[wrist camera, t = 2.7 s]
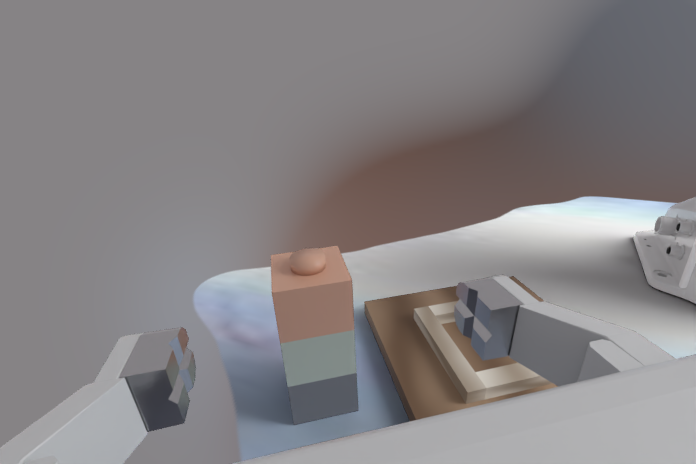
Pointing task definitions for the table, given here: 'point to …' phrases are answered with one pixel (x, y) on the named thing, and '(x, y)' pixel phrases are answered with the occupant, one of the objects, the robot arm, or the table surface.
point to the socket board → (441, 356)
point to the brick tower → (316, 331)
